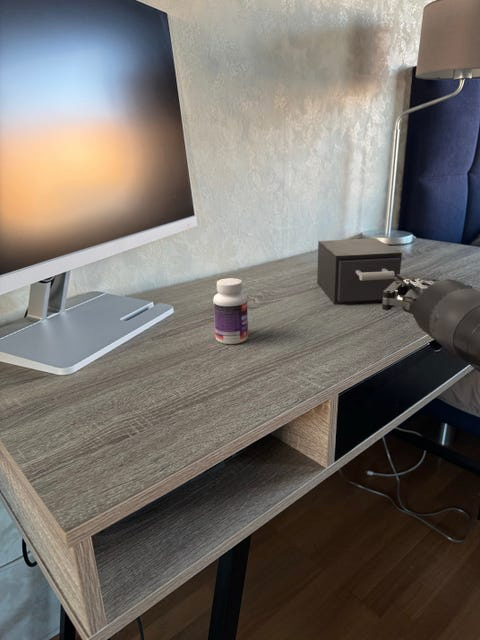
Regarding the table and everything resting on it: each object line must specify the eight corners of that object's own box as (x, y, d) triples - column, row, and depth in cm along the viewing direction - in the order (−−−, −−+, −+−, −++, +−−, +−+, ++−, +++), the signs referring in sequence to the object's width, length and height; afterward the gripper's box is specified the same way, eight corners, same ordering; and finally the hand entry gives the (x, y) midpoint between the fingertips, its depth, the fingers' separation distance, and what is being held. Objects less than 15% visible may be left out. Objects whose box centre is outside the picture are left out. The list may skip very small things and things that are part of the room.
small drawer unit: (397, 300, 87) (402, 252, 84) (334, 304, 87) (336, 256, 83) (372, 280, 101) (375, 238, 97) (317, 283, 100) (318, 241, 97)
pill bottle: (249, 344, 71) (248, 285, 67) (216, 346, 70) (212, 287, 67) (246, 331, 76) (244, 275, 72) (215, 333, 75) (211, 277, 72)
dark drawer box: (406, 305, 82) (410, 264, 79) (345, 309, 81) (347, 267, 78) (373, 279, 98) (375, 244, 95) (322, 282, 98) (323, 247, 95)
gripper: (404, 352, 53) (356, 305, 70) (509, 344, 54) (438, 300, 70) (410, 292, 51) (359, 258, 67) (520, 285, 52) (444, 253, 68)
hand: (400, 280), depth 69 cm, fingers closed
